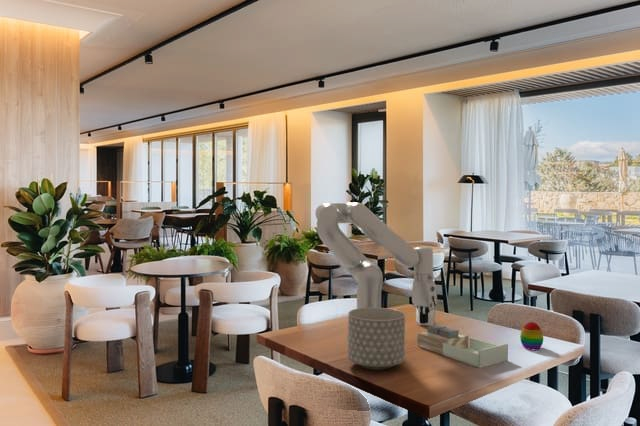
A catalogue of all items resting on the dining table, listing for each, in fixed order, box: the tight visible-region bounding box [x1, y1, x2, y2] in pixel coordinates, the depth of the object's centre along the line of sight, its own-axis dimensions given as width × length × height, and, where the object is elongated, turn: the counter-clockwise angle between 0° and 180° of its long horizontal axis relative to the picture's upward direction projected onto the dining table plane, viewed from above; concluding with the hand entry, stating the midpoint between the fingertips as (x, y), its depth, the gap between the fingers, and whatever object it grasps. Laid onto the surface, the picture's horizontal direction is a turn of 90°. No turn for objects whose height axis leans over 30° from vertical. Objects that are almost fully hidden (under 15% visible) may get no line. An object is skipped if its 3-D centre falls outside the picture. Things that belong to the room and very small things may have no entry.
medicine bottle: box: [415, 307, 436, 326], centre depth 235 cm, size 7×7×12 cm
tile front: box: [439, 327, 460, 339], centre depth 195 cm, size 5×5×2 cm
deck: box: [417, 330, 470, 356], centre depth 198 cm, size 14×13×5 cm
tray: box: [442, 336, 509, 369], centre depth 185 cm, size 15×17×6 cm
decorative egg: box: [520, 321, 544, 350], centre depth 198 cm, size 8×8×10 cm
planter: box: [347, 307, 406, 371], centre depth 175 cm, size 19×19×18 cm
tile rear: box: [427, 323, 448, 335], centre depth 200 cm, size 5×5×2 cm
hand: (424, 322), depth 207 cm, fingers closed
